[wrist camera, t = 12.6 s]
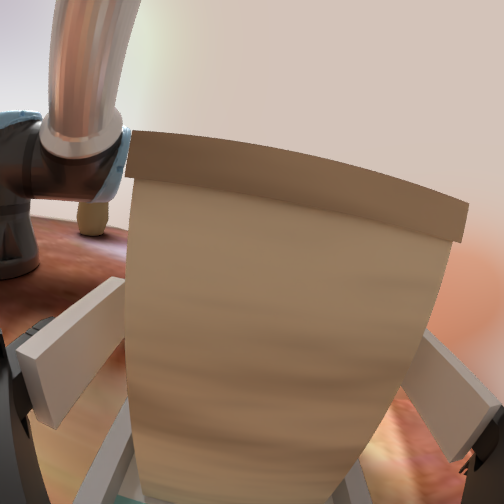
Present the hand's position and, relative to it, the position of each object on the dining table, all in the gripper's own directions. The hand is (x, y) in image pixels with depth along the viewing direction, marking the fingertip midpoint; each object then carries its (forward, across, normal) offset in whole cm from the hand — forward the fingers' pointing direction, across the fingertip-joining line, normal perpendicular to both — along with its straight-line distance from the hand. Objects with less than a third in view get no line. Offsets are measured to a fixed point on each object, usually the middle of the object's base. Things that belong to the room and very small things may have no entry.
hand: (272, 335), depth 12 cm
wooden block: (0, 0, -9) cm, 9 cm away
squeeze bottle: (+50, -38, -10) cm, 64 cm away
